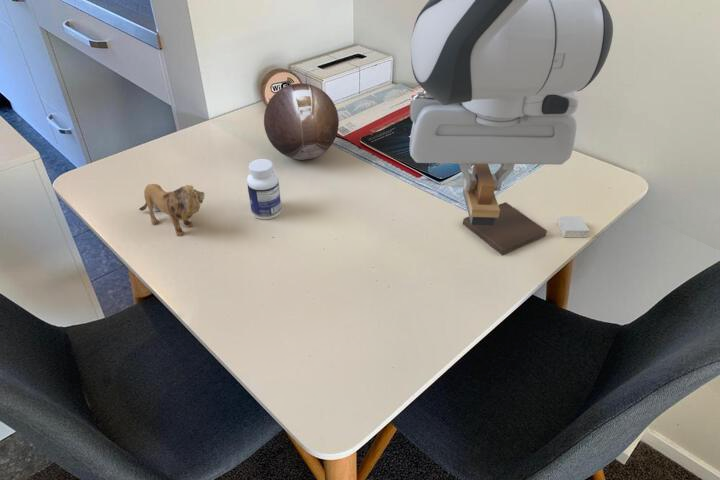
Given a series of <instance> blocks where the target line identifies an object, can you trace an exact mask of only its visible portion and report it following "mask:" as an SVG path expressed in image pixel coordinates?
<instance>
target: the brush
mask: <svg viewBox="0 0 720 480" xmlns="http://www.w3.org/2000/svg"><path fill="white" fill-rule="evenodd" d="M471 174H476V176H477V177H476V178H477V180H478V183H477V186H476V187H477V189H476V191H465V189H464V176H463V175H462V176H463V177H462V182H461V184H462V188H463V190H462V195H463V198H464V203H465V207H466V210H467V215H468V217H469V218H470V222H471V225H482V226H494V222H495V218H498V217H499V213H500V209H499V206H498V205H499V204H498V200H497V198H496V194H495V191H494V190H495V183H494V180H493V177H492V174H493V173H492V171H491V169H490V166H489V164H474V163H473V166H472V173H471Z"/></svg>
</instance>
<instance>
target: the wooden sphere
mask: <svg viewBox="0 0 720 480" xmlns="http://www.w3.org/2000/svg"><path fill="white" fill-rule="evenodd" d="M339 125H340V120H339V112H338V110H337V107H336V105H335V103H334V101H333V100H332V98H331V97H330V96H329V95H328V94H327V93H326V92H325V91H324V90H322V89H321V88H319V87H318V86H316V85H313V84H309V83H303V82H302V83H301V82H300V83H299V82H298V83H292V84H287V85H285V86H284V87H281V88H280V89H279V90H277V91H276V92H275V93H274V94H273V95H272V96H271V97H270V99H269V100H268V103H267V105H266V107H265V110H264V115H263V127H264V131H265V135H266V137H267V139H268V141H269V142H270V144H271V145H272V146H273V147H274V148H275V149H276V151H278V152H279V153H280V154H281V155H283V156H284V157H287V158H290V159H294V160H300V161H302V160H305V161H306V160H311V159H314V158H317V157H319V156H321V155H323V154H324V153H325V152H326V151H327V150H329V148H330V147H332V145H333V143H334V142H335V140H336V138H337V135H338V132H339Z"/></svg>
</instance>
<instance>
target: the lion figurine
mask: <svg viewBox="0 0 720 480" xmlns="http://www.w3.org/2000/svg"><path fill="white" fill-rule="evenodd" d="M143 192H144V193H143V197H144V201H145V203H144V205H143V206H141V207H140V208H138V210H139V211H142V212H143V211H145V210H146V209H147V208H148V214H149V217H150V222H151V225H157V224H158V223H159V220H158V218H156V216H155V212H160V211H161V212H162V213H164V214H165V215H168V216H169V218H170V220H171V222H172V225H173V227H174V230H175V234H176V236H177V237H181V236H183V235H184V234H185V232H184V231H183V228H182V227H181V224H180V221H182V223H183V226H184V227H187V228H191V227H192V226H193V222H192V221H189V219H191V218H192V217H193V215H195V214H197V213H198V212H199V211H200V209H201V204H203V203H204V200H205V192H204V191H199V190H197V189H194V186H193V185H189V184H186V185H182V186H180V187H178V188H177V189H175V190H173V191H168V192H167V191H165V190H164V189H163V188H162V187H161V185H159V184H156V183H149V184H147V185H146V186H145V188H144V191H143Z"/></svg>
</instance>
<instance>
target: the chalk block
mask: <svg viewBox="0 0 720 480" xmlns="http://www.w3.org/2000/svg"><path fill="white" fill-rule="evenodd" d="M556 225H557V227H558V228H559V230H560V232H561V235H562V237H563V238H588V236H589V233H590V229H589V228H588V225H587V224H586V222H585V220H584V218H583V217H582V216H558V219H557V221H556Z"/></svg>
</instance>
